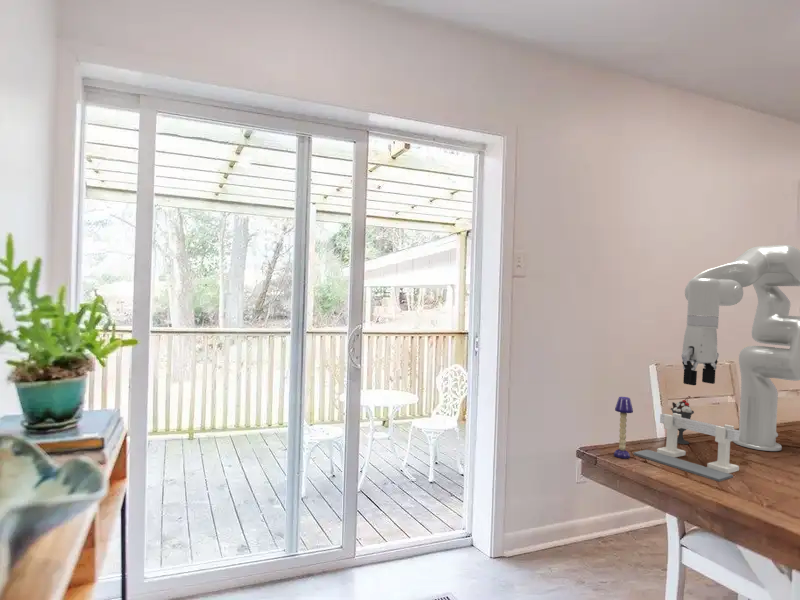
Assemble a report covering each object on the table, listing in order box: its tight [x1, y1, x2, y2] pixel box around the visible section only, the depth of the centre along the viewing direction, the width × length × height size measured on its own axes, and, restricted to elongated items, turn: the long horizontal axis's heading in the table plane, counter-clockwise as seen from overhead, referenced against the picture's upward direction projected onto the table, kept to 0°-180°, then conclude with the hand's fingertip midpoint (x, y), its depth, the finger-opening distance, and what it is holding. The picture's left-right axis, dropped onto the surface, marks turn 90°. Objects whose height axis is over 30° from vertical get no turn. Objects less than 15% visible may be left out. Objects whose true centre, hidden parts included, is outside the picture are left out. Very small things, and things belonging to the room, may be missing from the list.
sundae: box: [670, 395, 695, 445], centre depth 158 cm, size 7×7×15 cm
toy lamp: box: [613, 396, 634, 459], centre depth 141 cm, size 5×5×17 cm
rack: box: [656, 412, 740, 474], centre depth 139 cm, size 6×19×12 cm, turn 32°
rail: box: [659, 413, 740, 442], centre depth 139 cm, size 2×20×2 cm, turn 32°
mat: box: [632, 449, 734, 482], centre depth 135 cm, size 7×23×1 cm, turn 32°
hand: (699, 383), depth 139 cm, fingers open, 9 cm apart
